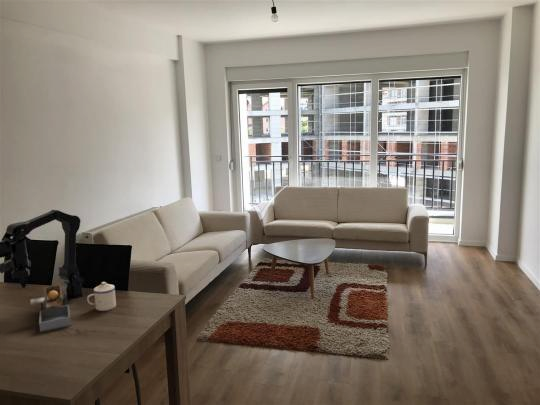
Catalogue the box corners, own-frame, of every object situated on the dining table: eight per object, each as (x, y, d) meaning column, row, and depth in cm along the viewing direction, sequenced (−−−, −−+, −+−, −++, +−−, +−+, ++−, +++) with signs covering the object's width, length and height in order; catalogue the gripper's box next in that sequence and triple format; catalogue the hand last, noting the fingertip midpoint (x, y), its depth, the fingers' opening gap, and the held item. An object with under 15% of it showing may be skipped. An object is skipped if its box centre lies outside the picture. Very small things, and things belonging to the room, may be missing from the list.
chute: (63, 296, 196) (62, 284, 195) (65, 310, 180) (63, 297, 179) (33, 302, 190) (31, 289, 189) (32, 316, 175) (30, 303, 174)
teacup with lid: (115, 301, 197) (112, 277, 195) (118, 308, 189) (115, 283, 187) (87, 307, 192) (84, 282, 190) (89, 314, 184) (86, 288, 182)
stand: (68, 307, 192) (67, 292, 191) (69, 311, 187) (67, 296, 186) (41, 312, 187) (39, 297, 186) (41, 317, 182) (39, 301, 181)
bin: (69, 313, 186) (68, 304, 185) (71, 325, 173) (70, 316, 173) (40, 318, 181) (39, 310, 180) (40, 332, 168) (39, 323, 168)
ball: (58, 297, 188) (57, 288, 187) (58, 300, 184) (57, 291, 184) (48, 298, 186) (47, 290, 185) (48, 301, 183) (47, 293, 182)
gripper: (-1, 250, 187) (4, 284, 189) (-6, 261, 170) (0, 298, 173) (28, 247, 192) (32, 279, 194) (26, 257, 175) (31, 293, 178)
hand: (23, 287), depth 185 cm, fingers closed
